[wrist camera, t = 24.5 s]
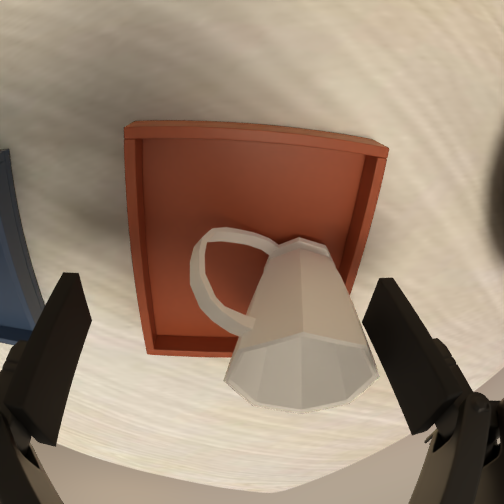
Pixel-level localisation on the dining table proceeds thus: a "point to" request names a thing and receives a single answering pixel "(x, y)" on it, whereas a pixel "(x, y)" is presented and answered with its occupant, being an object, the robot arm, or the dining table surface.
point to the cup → (290, 328)
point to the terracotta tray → (236, 214)
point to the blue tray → (15, 267)
